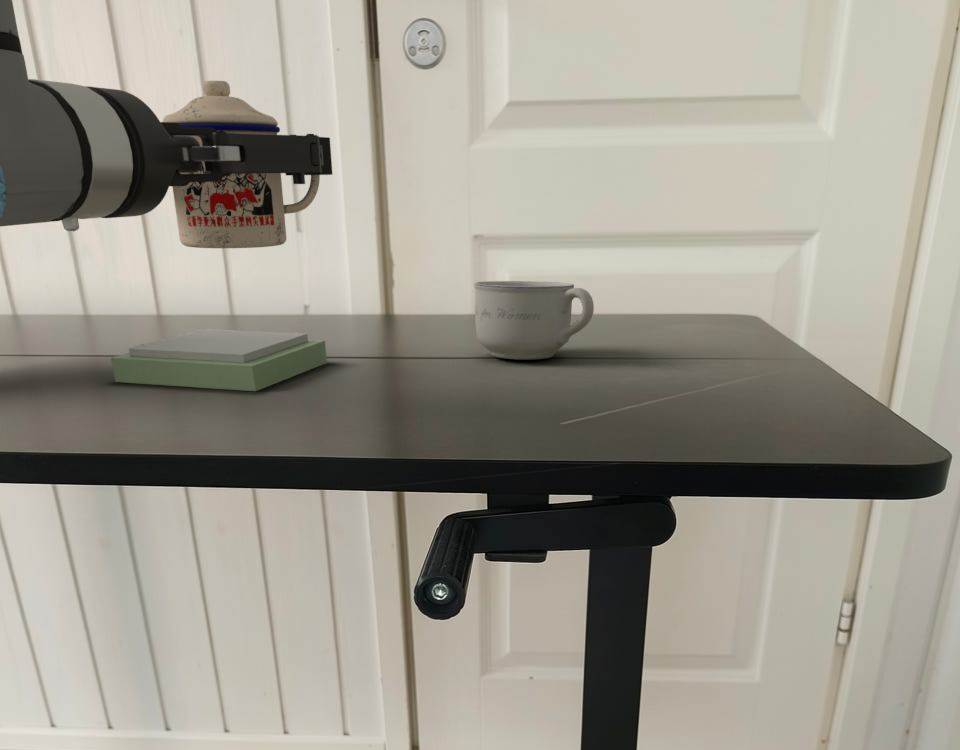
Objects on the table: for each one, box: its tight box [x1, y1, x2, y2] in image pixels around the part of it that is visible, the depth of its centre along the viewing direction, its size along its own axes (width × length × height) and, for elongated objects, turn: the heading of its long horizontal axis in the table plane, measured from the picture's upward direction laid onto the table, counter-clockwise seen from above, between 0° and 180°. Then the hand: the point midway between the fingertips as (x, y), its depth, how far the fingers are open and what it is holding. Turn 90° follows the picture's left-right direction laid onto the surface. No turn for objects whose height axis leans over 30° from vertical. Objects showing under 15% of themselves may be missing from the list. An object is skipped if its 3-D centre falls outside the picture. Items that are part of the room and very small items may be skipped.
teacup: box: [473, 280, 595, 361], centre depth 99 cm, size 14×11×8 cm
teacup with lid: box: [161, 80, 321, 249], centre depth 74 cm, size 12×9×12 cm
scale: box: [110, 328, 328, 392], centre depth 95 cm, size 16×15×3 cm
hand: (265, 157), depth 77 cm, fingers closed on teacup with lid, 11 cm apart
